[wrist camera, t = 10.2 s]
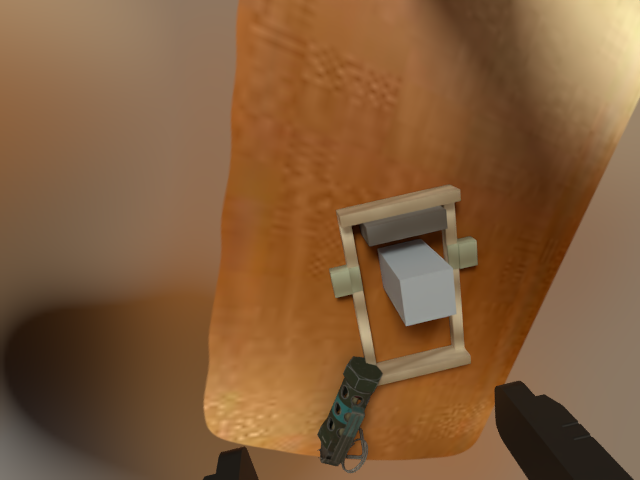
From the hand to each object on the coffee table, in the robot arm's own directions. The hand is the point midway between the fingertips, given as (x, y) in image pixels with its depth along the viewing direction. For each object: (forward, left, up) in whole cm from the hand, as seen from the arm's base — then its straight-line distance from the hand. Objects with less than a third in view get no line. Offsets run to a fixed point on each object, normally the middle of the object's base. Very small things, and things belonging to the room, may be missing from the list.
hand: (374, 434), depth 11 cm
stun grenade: (+27, 0, -28) cm, 39 cm away
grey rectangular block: (+9, +9, -28) cm, 31 cm away
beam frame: (+12, +9, -28) cm, 32 cm away
